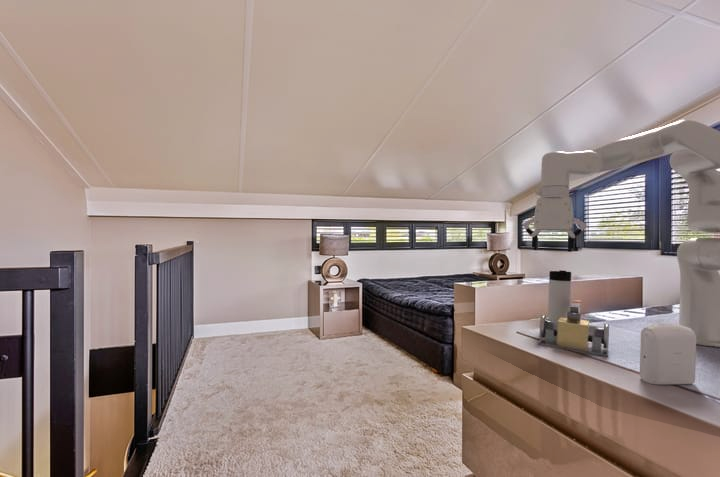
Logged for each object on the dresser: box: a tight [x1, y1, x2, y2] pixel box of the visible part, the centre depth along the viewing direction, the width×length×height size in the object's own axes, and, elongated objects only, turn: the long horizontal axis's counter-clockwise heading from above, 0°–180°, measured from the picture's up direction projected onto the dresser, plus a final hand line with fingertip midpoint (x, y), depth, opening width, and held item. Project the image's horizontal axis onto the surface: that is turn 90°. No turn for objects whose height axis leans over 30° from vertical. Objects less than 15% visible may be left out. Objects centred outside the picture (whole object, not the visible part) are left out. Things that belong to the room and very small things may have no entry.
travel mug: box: [547, 269, 572, 321], centre depth 113 cm, size 6×7×20 cm
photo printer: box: [639, 322, 697, 385], centre depth 73 cm, size 10×4×12 cm, turn 96°
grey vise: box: [537, 314, 610, 358], centre depth 97 cm, size 16×10×7 cm, turn 55°
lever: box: [567, 299, 582, 321], centre depth 102 cm, size 16×3×4 cm, turn 145°
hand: (552, 250), depth 105 cm, fingers open, 8 cm apart
